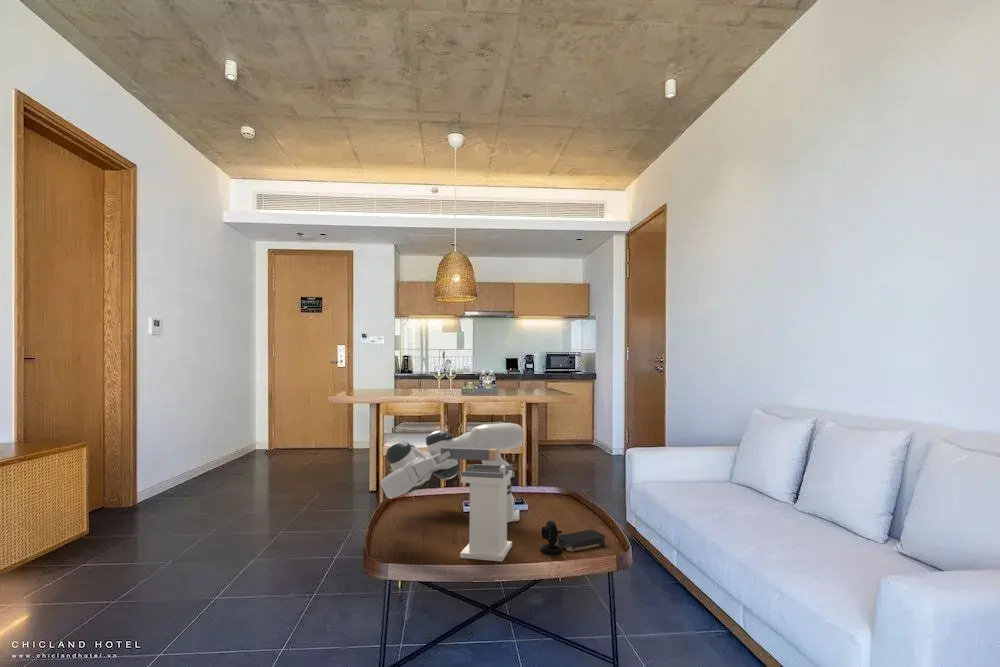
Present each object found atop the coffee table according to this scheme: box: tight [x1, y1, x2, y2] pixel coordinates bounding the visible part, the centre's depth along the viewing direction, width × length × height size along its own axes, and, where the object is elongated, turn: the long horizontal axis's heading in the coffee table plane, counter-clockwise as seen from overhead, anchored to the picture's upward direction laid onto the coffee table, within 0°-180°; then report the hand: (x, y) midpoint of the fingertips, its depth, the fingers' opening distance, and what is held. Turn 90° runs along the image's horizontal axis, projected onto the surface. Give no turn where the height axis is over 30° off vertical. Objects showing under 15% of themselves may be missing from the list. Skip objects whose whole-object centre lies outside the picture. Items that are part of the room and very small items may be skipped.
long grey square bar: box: [441, 447, 498, 461], centre depth 184 cm, size 4×20×4 cm, turn 77°
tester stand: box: [459, 463, 513, 562], centre depth 177 cm, size 16×14×29 cm
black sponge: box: [556, 529, 606, 552], centre depth 183 cm, size 16×8×4 cm, turn 117°
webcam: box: [540, 520, 564, 555], centre depth 178 cm, size 8×8×10 cm
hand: (452, 451), depth 185 cm, fingers closed on long grey square bar, 4 cm apart
